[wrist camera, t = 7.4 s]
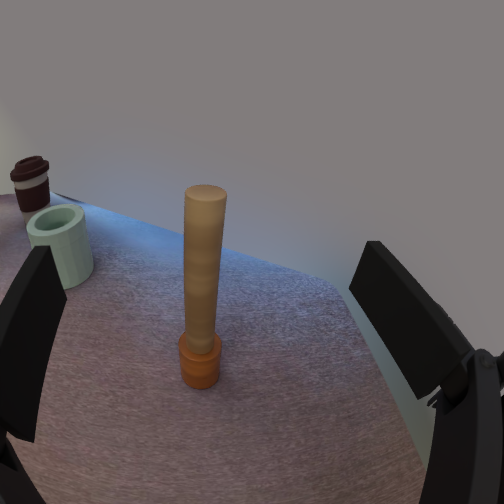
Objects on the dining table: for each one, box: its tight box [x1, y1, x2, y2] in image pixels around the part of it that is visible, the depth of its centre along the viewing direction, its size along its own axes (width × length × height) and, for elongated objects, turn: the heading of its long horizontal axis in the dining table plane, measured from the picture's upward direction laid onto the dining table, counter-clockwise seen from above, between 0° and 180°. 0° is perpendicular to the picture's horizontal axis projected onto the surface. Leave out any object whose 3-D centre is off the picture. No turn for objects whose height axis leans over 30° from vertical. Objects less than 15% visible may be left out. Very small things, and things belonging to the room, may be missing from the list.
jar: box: [26, 204, 94, 290], centre depth 38 cm, size 10×10×10 cm
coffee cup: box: [10, 156, 50, 226], centre depth 47 cm, size 10×10×15 cm
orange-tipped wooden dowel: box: [178, 185, 227, 389], centre depth 24 cm, size 4×4×22 cm
